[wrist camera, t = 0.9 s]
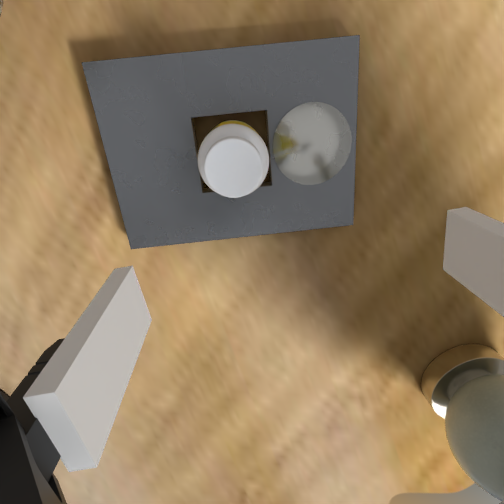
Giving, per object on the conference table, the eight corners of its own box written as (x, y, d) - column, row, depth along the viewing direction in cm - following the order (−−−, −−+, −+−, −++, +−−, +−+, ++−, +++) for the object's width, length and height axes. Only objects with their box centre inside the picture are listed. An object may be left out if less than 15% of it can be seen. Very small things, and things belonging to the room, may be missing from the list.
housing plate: (135, 242, 34) (130, 250, 32) (90, 65, 28) (80, 62, 26) (347, 219, 35) (354, 225, 33) (351, 39, 28) (360, 34, 26)
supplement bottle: (212, 111, 30) (205, 113, 21) (269, 130, 31) (286, 141, 22) (197, 169, 32) (184, 195, 23) (251, 186, 33) (260, 217, 24)
